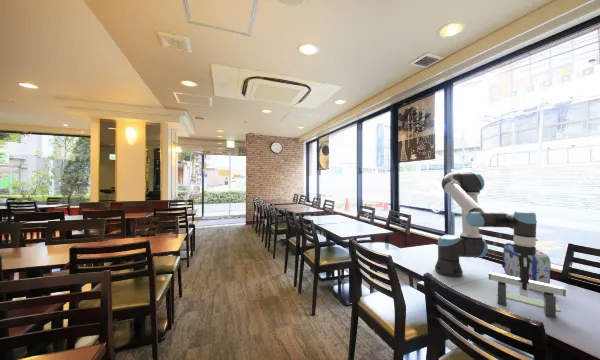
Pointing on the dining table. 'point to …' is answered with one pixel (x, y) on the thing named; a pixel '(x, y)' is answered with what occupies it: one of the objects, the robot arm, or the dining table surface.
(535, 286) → the rail
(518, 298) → the mat
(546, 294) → the post right
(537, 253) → the lunch box
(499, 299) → the post left
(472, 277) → the dining table surface
